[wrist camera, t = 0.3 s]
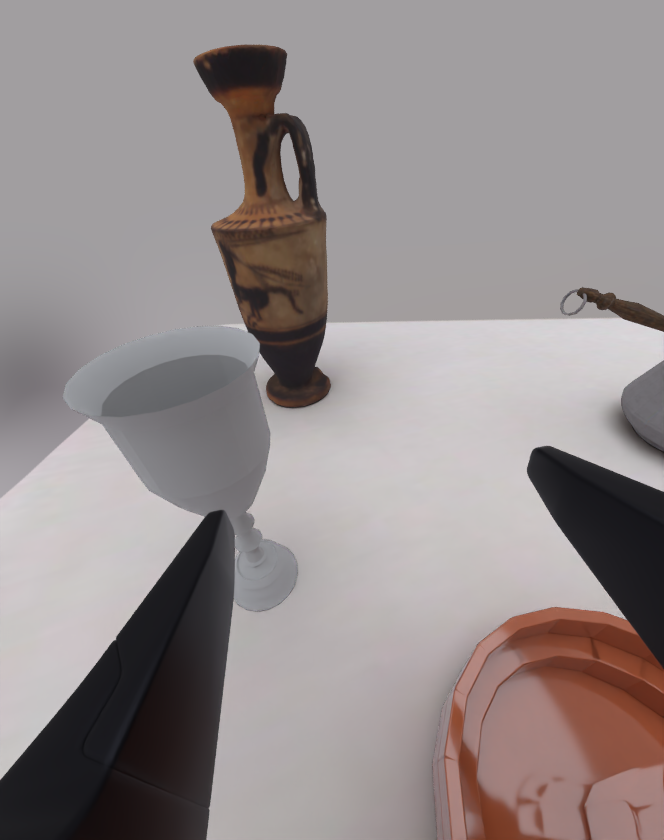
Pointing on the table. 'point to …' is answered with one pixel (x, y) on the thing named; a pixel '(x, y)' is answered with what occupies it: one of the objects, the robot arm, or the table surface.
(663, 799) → the milkshake
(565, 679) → the bowl
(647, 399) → the coffee pot
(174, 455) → the chalice
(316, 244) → the vase
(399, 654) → the table surface
